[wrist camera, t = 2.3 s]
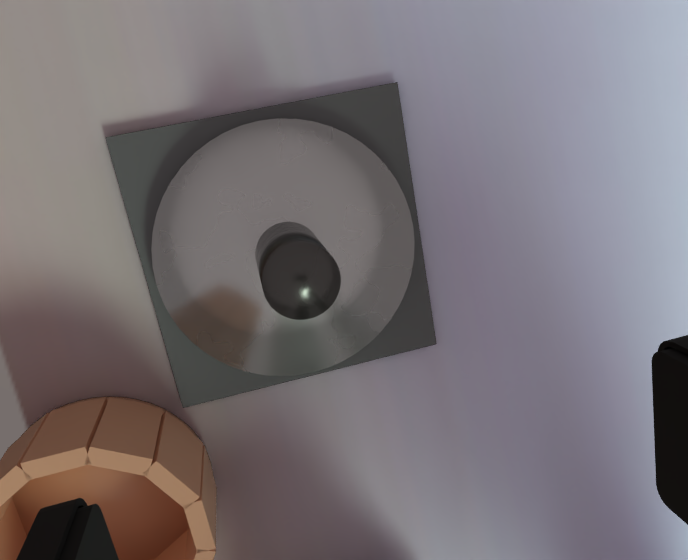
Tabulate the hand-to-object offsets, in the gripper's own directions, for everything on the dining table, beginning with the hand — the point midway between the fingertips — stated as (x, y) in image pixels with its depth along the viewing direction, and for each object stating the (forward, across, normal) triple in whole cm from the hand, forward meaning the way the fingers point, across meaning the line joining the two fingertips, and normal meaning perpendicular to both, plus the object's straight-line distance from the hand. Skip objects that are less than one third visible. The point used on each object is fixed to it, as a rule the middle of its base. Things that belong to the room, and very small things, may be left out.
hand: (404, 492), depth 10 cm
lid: (+20, 0, 0) cm, 20 cm away
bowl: (+20, +11, +10) cm, 25 cm away
